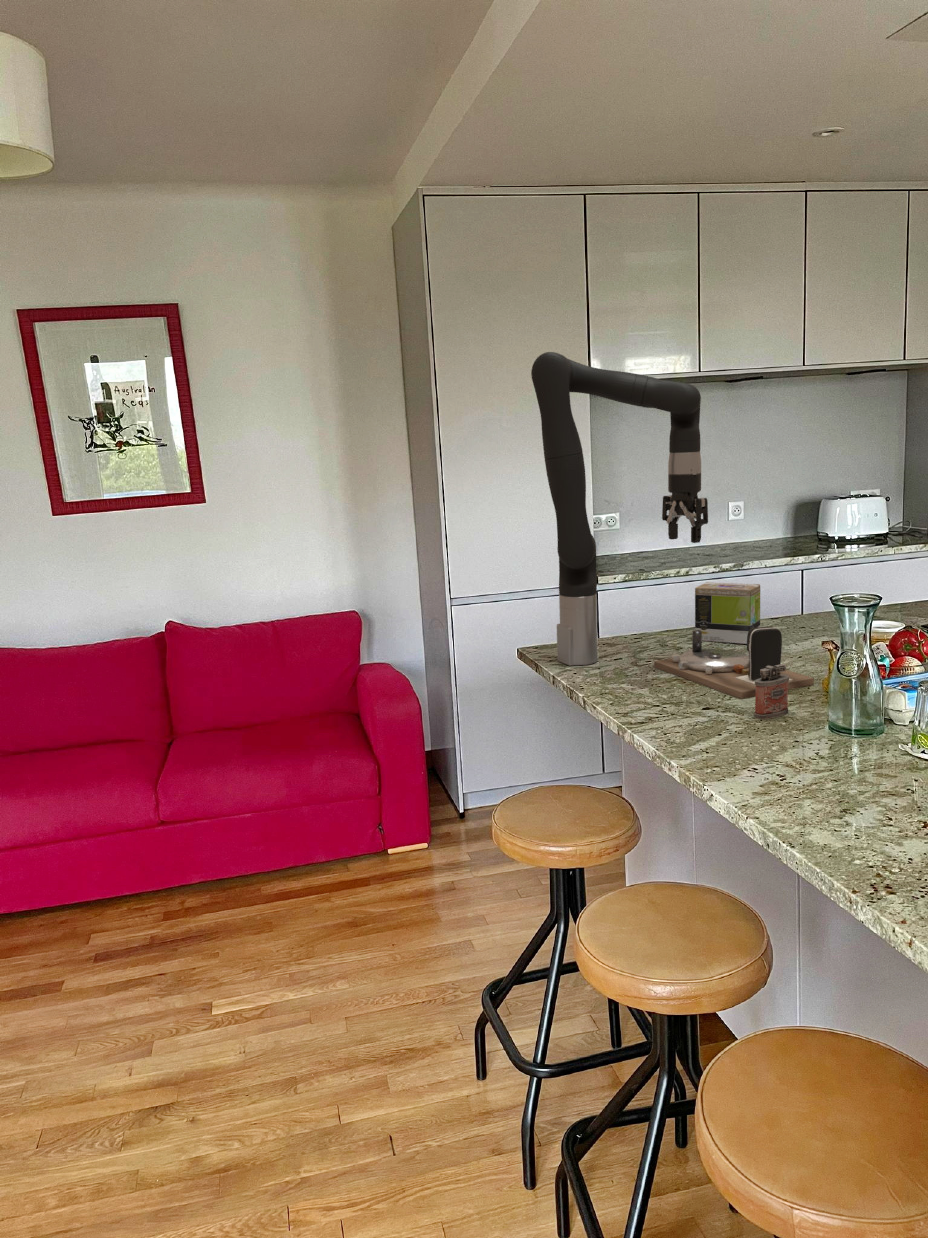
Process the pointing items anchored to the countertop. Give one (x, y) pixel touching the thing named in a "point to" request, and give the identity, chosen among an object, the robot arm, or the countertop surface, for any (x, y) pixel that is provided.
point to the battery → (763, 649)
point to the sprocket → (711, 658)
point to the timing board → (729, 679)
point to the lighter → (771, 693)
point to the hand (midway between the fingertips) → (684, 540)
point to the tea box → (727, 611)
